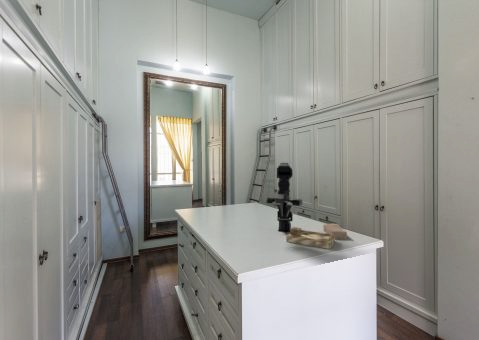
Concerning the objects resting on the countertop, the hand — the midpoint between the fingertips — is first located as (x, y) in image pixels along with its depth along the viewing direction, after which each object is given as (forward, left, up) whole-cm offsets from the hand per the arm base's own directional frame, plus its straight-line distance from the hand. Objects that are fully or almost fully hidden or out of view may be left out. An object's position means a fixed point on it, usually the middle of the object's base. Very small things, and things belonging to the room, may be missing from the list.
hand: (284, 216), depth 127 cm
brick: (+22, +22, -13) cm, 34 cm away
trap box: (+14, +3, -12) cm, 18 cm away
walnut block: (+7, 0, -10) cm, 12 cm away
